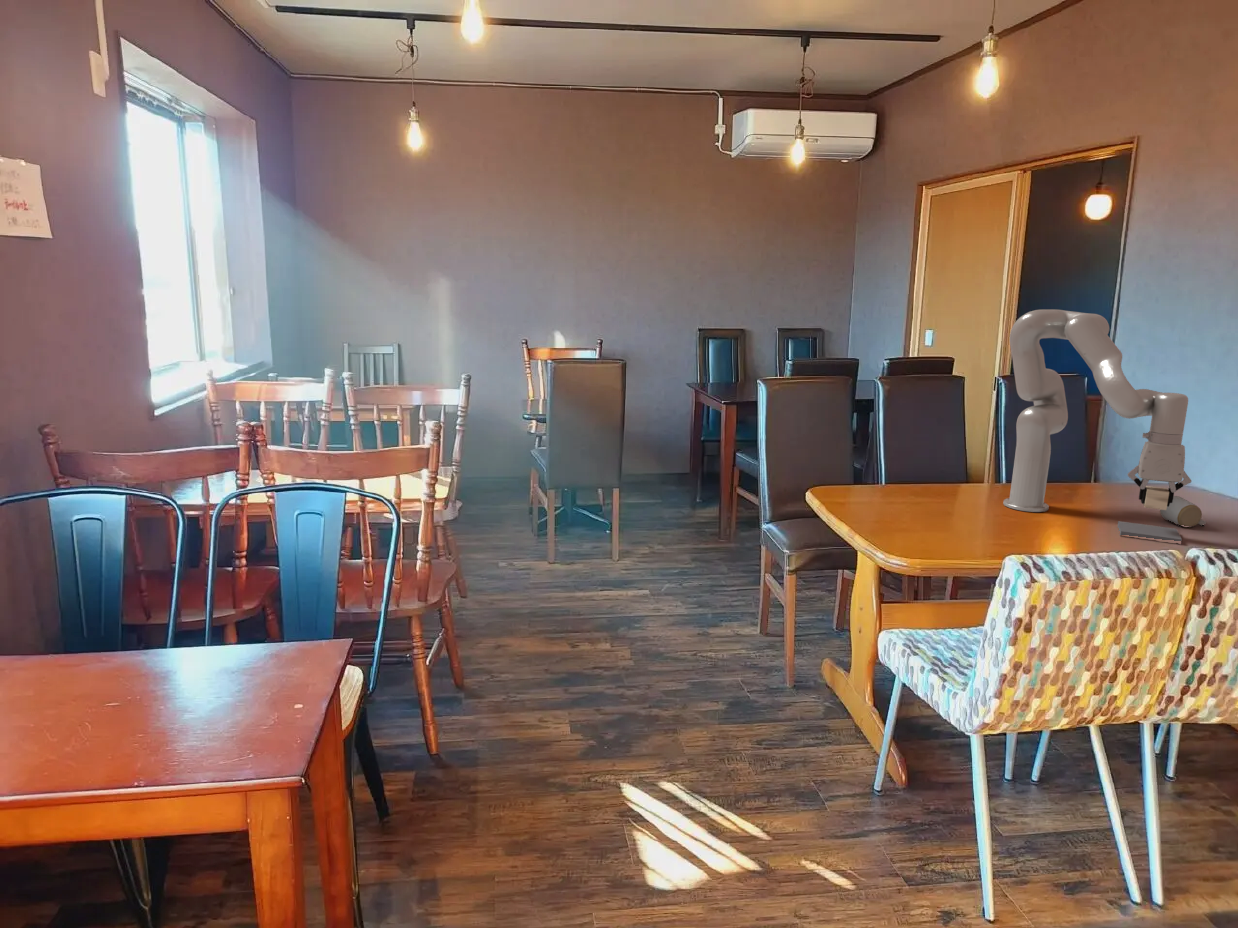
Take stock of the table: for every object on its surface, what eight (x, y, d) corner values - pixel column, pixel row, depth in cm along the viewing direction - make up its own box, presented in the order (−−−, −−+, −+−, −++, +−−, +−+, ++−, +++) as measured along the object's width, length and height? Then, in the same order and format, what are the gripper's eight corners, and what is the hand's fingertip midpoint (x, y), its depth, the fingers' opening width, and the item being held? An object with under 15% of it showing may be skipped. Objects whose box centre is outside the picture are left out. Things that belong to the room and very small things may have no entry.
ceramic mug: (1176, 528, 231) (1181, 502, 230) (1157, 520, 239) (1162, 495, 238) (1212, 529, 232) (1218, 503, 230) (1192, 521, 240) (1197, 496, 238)
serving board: (1117, 526, 233) (1118, 521, 232) (1175, 533, 226) (1176, 528, 226) (1120, 536, 223) (1121, 531, 223) (1180, 544, 217) (1181, 539, 217)
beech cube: (1142, 503, 226) (1145, 486, 225) (1164, 505, 224) (1166, 488, 223) (1144, 507, 222) (1147, 490, 221) (1166, 510, 219) (1169, 492, 218)
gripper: (1129, 438, 219) (1119, 503, 223) (1205, 444, 211) (1194, 511, 215) (1127, 433, 226) (1117, 496, 230) (1201, 439, 218) (1190, 504, 222)
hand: (1154, 503), depth 222 cm, fingers closed on beech cube, 5 cm apart
